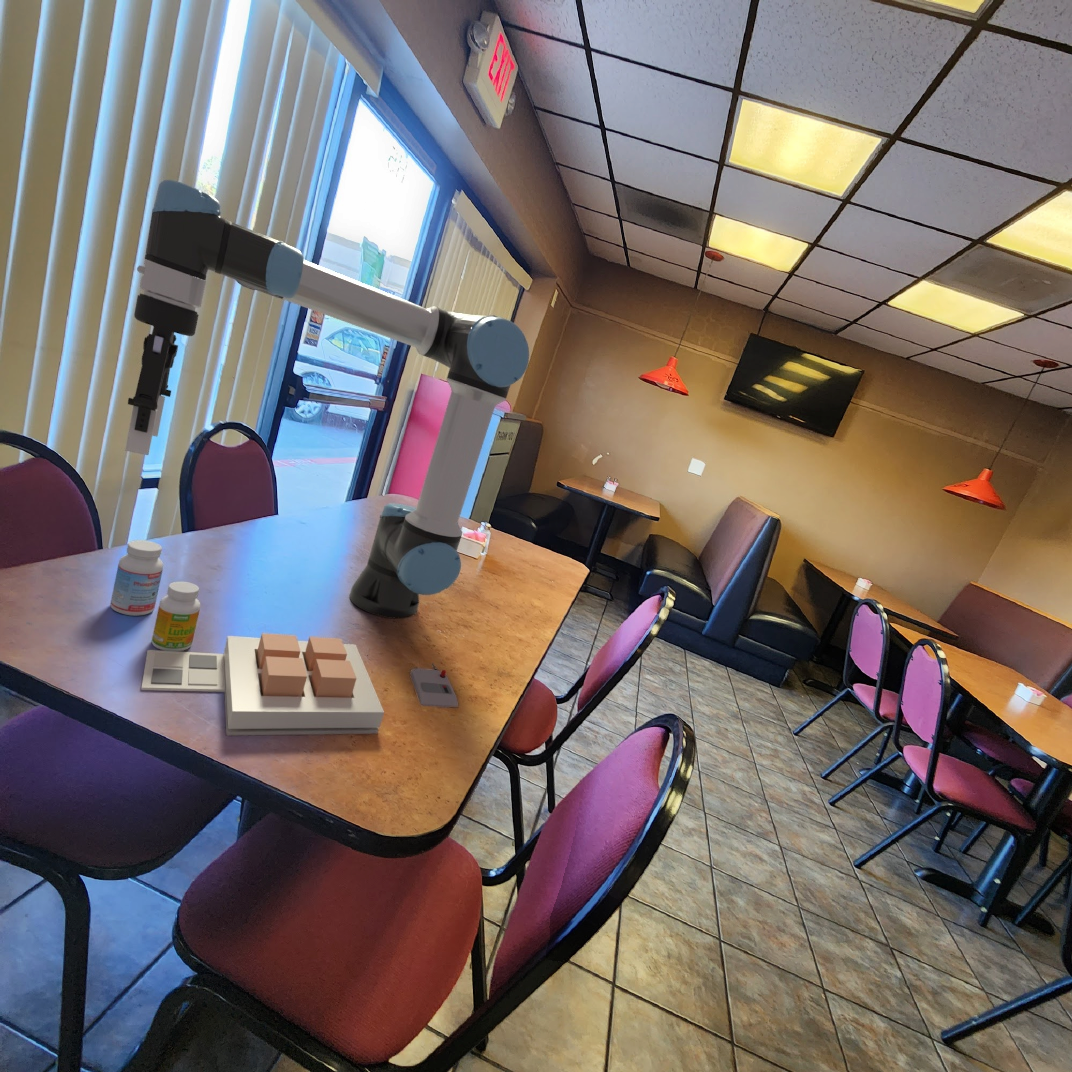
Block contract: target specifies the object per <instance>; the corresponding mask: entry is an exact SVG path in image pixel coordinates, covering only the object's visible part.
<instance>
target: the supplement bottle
mask: <svg viewBox="0 0 1072 1072" xmlns="http://www.w3.org/2000/svg"><path fill="white" fill-rule="evenodd" d="M199 590H200V587H199V586H198V585H197V584H195V583H192V582H188V581H173V582H171V583H169V584H168V587H167V591H166V592H167V593H166V594H167V595H165V596H163V597H162V598H161V599H160V601H159V606H158V609H157V614H156V618H155V623H154V629H153V632H152V637H151V643H152V645H153V646H154V647H155V649H158V650H159V651H177V652H184V651H186V650H188V649H189V648H191V646H192V644H193V642H194V636H195V633H196V628H197V622H198V619H199V616H200V615H199V614H200V610H201V602H200V600H199V599H198V596H199Z"/></svg>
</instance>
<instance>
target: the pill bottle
mask: <svg viewBox="0 0 1072 1072" xmlns="http://www.w3.org/2000/svg"><path fill="white" fill-rule="evenodd" d="M126 547H127V548H126V553H127V554H125V555H122V556H121V557H120V559H119V560H118V564H117V568H116V569H117V570H116V574H115V579H114V583H113V588H112V589H113V590H112V595H111V600H110V608H111V610H114V611H115V612H117V613H119V614H122V615H126V616H135V617H136V616H137V617H138V616H144V615H147V614H150V613H152V612H153V611H154V610H155V607H156V603H157V597H158V594H159V590H160V589H159V588H160V585H161V579H162V575H163V570H164V562H163V561H162V559H160V557H161V554H162V551H163V547H162V546H161V544H158V543H157V542H154V541H150V540H143V539H142V540H141V539H137V540H132V541H129V542H127V546H126Z"/></svg>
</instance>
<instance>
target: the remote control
mask: <svg viewBox="0 0 1072 1072" xmlns="http://www.w3.org/2000/svg"><path fill="white" fill-rule="evenodd" d="M431 665H432V669H430V668H419V667H418V666H415V668H412V669H411V670H410V673H409V677H410V679H411V682H412V685H413V687H414V691H415V694H416V696H417V699H418V703H419V704H420V706H422V707H423V706H424V707H435V708H437V707H438V708H448V707H458V708H459V703H458V697H457V695H456V693H455V691H454V689H453V686H452V684H451V682H450V679H449V678H448V675H447V671H446V670H444V669H442V670H439V669H437V667H436V665H435V664H434V663H433V662H432V663H431Z"/></svg>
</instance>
